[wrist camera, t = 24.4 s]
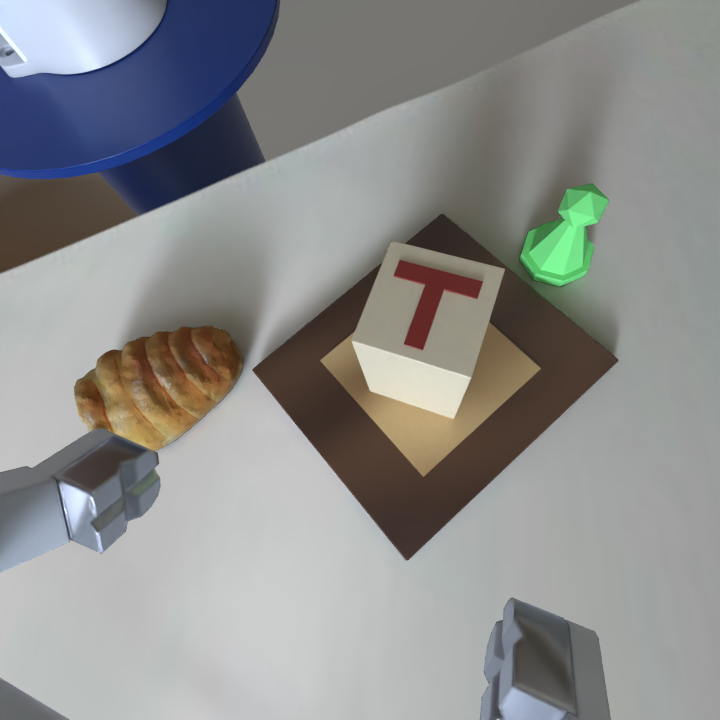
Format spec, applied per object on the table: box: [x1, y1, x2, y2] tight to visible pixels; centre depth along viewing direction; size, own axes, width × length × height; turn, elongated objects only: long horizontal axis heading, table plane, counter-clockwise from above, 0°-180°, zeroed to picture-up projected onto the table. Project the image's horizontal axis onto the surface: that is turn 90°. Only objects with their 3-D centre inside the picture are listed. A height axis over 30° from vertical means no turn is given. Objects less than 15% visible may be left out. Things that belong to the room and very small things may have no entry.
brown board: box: [253, 214, 618, 560], centre depth 26 cm, size 14×16×1 cm
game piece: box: [519, 183, 609, 287], centre depth 25 cm, size 4×4×6 cm
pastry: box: [74, 326, 243, 451], centre depth 26 cm, size 9×7×4 cm
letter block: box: [351, 241, 505, 419], centre depth 22 cm, size 5×5×8 cm
